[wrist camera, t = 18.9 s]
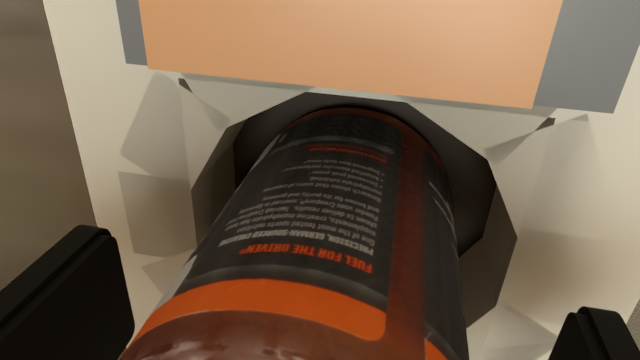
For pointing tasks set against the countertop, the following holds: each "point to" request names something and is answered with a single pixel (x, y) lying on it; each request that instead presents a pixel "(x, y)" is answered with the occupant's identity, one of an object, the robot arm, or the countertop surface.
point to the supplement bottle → (323, 255)
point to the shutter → (399, 46)
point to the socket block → (455, 117)
